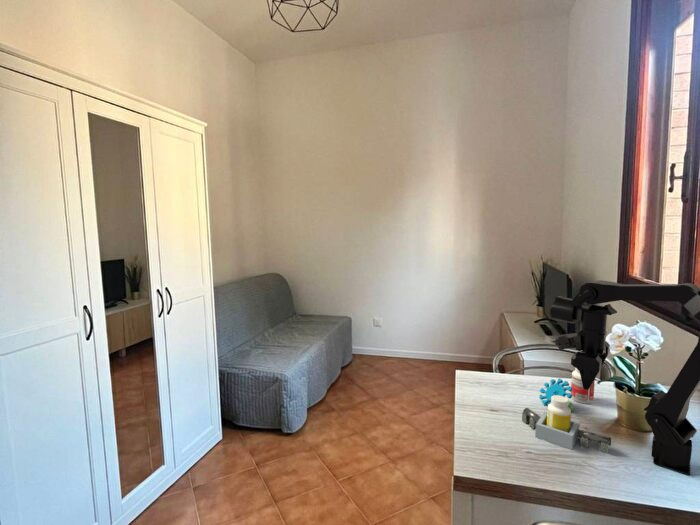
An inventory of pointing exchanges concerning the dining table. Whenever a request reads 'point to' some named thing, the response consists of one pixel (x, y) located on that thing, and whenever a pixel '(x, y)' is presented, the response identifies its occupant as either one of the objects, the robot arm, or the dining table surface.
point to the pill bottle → (581, 389)
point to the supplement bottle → (559, 413)
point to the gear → (556, 391)
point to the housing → (557, 433)
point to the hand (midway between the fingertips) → (589, 383)
